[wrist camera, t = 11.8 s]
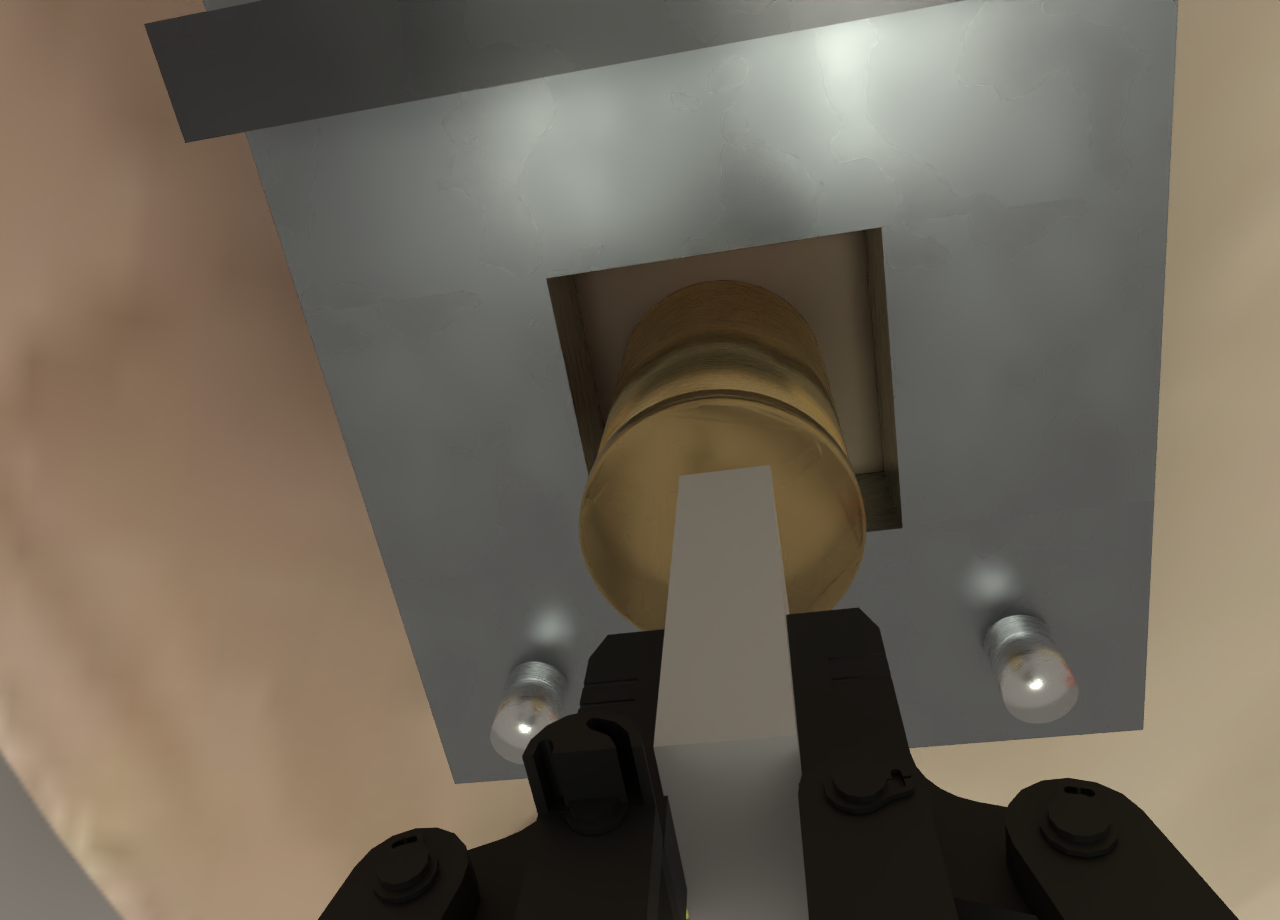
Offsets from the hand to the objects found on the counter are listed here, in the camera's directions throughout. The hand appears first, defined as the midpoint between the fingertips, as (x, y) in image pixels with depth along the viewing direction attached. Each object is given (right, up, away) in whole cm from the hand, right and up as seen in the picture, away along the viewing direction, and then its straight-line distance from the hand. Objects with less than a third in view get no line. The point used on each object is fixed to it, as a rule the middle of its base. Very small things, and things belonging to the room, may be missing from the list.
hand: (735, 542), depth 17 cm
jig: (+1, +4, +8) cm, 9 cm away
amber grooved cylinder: (0, +3, +8) cm, 9 cm away
